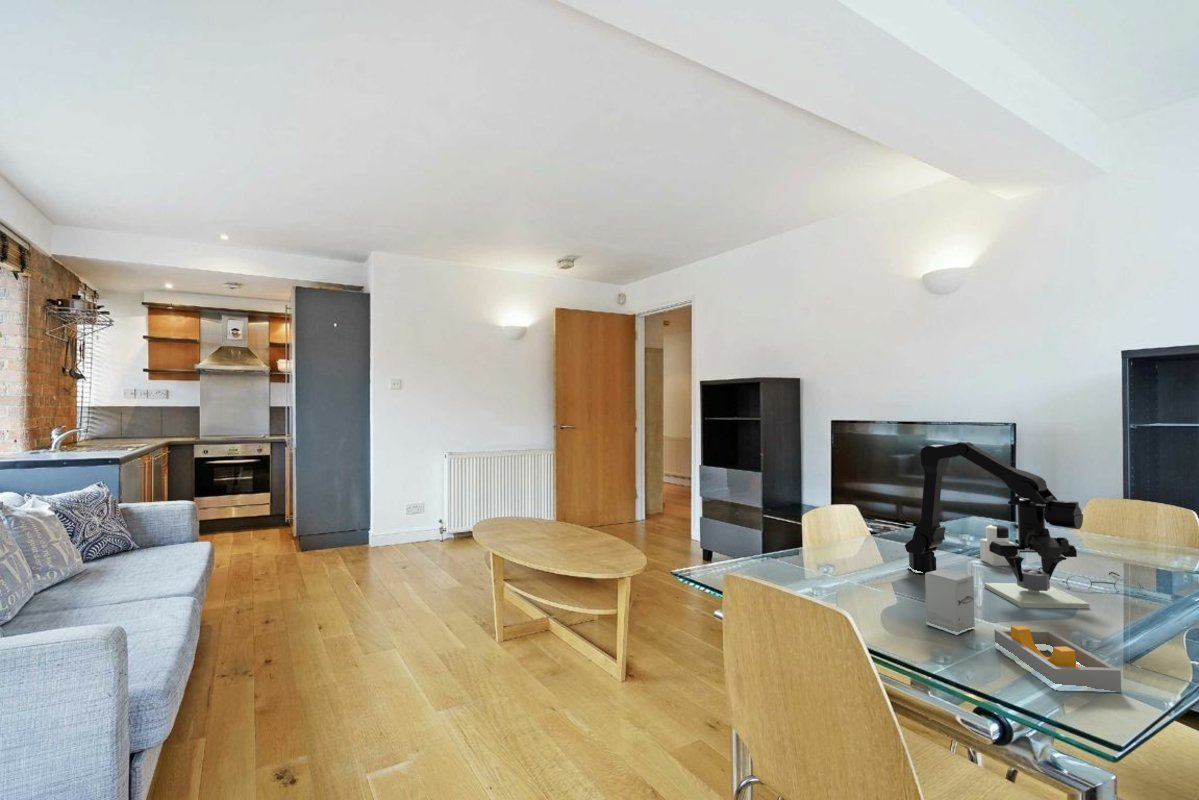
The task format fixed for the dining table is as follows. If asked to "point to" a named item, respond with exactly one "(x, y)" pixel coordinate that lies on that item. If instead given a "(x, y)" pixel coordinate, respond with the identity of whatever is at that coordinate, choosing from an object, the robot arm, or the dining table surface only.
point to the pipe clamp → (1058, 657)
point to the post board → (1035, 596)
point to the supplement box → (950, 599)
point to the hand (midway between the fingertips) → (1033, 581)
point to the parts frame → (1090, 675)
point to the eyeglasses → (1101, 581)
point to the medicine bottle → (992, 535)
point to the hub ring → (1034, 580)
